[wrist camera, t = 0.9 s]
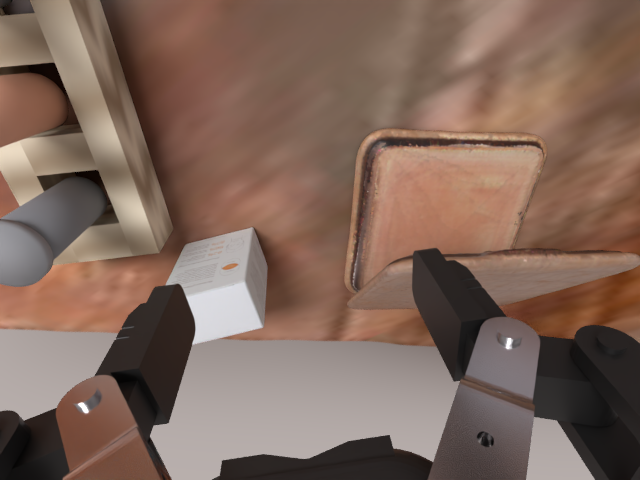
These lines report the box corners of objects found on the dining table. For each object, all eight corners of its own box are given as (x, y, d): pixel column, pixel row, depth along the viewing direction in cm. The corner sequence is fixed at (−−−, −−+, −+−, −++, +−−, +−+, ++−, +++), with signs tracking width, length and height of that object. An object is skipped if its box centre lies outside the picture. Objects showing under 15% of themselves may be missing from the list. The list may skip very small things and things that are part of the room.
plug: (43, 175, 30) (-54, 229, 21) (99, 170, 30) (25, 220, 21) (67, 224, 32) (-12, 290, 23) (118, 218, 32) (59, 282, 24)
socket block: (-94, -121, 24) (-178, -158, 19) (57, -132, 24) (8, -170, 20) (78, 239, 38) (51, 265, 33) (173, 229, 38) (159, 252, 34)
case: (339, 295, 45) (366, 410, 31) (356, 125, 35) (409, 181, 21) (490, 293, 47) (579, 398, 33) (548, 132, 37) (711, 187, 23)
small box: (203, 282, 42) (180, 349, 32) (184, 242, 39) (153, 303, 30) (269, 266, 41) (265, 329, 32) (254, 225, 39) (245, 281, 29)
